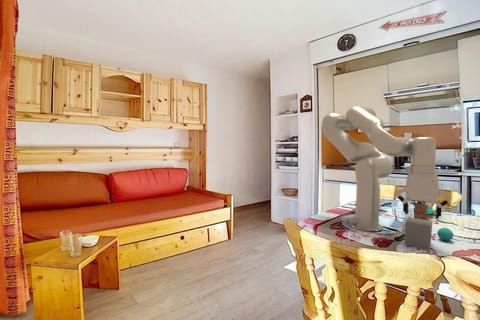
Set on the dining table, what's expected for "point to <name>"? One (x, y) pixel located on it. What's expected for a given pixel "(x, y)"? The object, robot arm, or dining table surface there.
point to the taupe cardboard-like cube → (418, 233)
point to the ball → (445, 234)
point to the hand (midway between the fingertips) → (421, 215)
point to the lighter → (420, 210)
